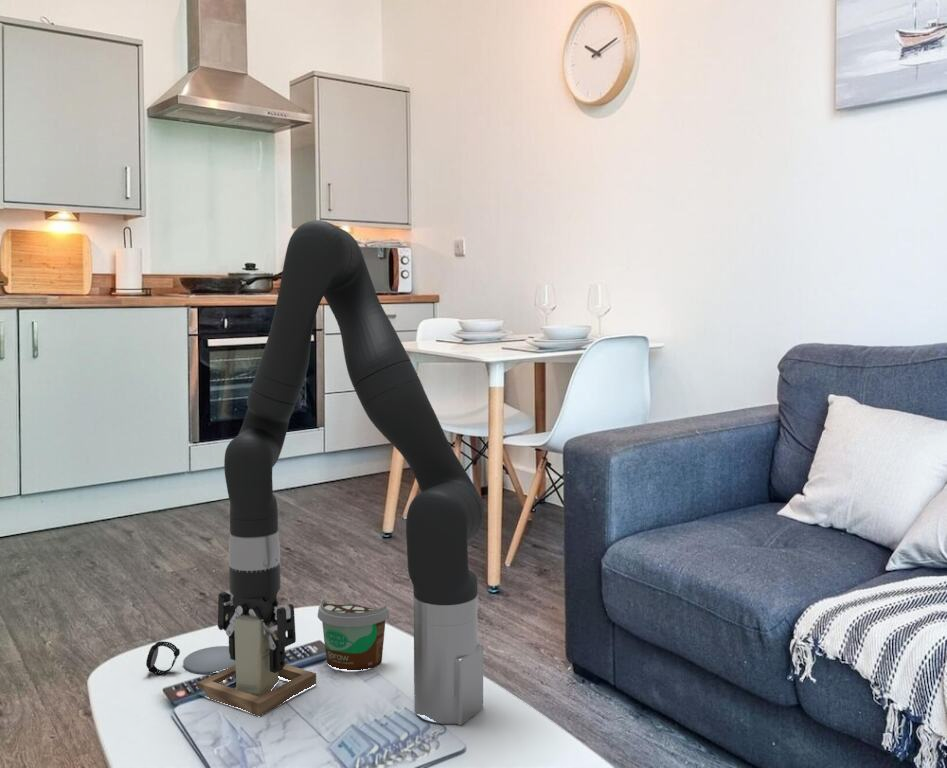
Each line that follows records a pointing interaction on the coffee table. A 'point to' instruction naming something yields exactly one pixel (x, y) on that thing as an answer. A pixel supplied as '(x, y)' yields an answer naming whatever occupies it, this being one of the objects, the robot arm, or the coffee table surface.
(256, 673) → the skincare box
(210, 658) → the slate coaster
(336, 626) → the food container
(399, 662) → the coffee table surface
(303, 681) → the frame
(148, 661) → the smartwatch
